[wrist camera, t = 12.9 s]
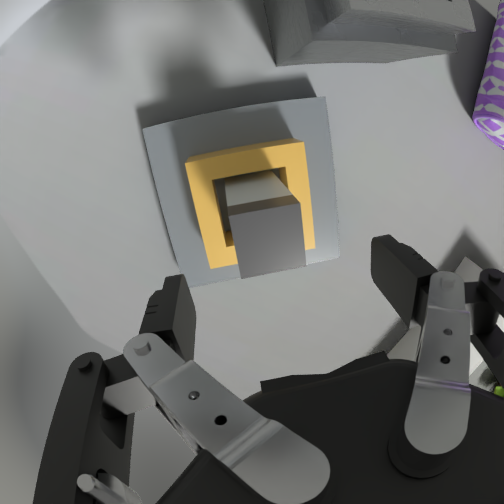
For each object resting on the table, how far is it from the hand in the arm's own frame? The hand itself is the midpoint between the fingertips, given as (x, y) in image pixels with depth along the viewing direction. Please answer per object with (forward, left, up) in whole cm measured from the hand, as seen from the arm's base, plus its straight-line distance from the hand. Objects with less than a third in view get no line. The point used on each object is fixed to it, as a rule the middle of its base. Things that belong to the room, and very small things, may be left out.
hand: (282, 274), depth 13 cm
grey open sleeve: (-9, -15, -15) cm, 23 cm away
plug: (0, 0, -13) cm, 13 cm away
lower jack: (0, 0, -15) cm, 15 cm away
